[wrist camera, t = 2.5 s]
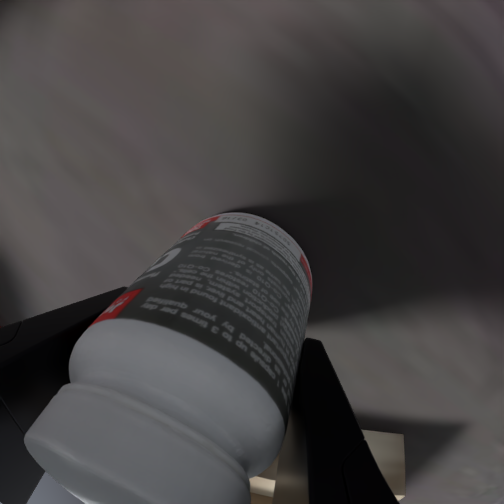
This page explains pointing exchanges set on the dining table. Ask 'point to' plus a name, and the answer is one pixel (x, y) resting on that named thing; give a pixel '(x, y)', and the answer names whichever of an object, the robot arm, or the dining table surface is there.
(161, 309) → the pill bottle
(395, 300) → the dining table surface
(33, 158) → the dining table surface
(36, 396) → the robot arm
